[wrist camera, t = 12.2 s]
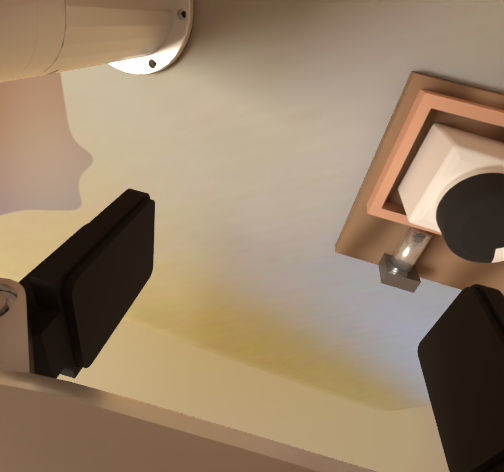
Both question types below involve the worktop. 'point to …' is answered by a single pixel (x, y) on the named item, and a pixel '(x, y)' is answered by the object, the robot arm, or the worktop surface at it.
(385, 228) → the square clamping fixture
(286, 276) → the worktop surface
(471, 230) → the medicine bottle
